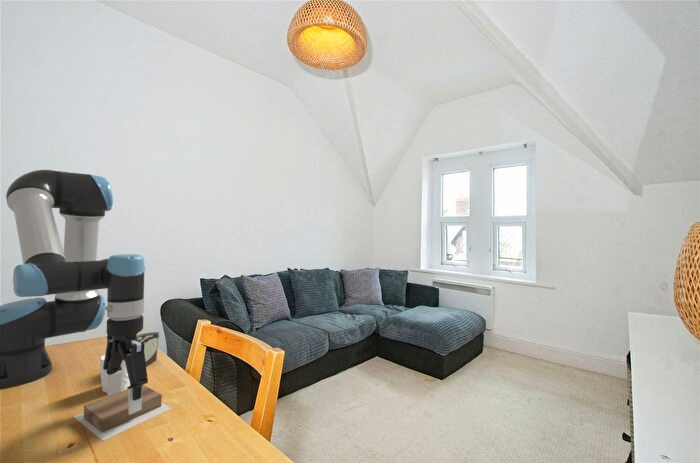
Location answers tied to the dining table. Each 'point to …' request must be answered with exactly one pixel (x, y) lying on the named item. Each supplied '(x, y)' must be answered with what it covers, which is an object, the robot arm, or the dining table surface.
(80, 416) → the rubber mat
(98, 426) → the walnut board
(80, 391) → the dining table surface
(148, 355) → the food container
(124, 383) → the white cup
